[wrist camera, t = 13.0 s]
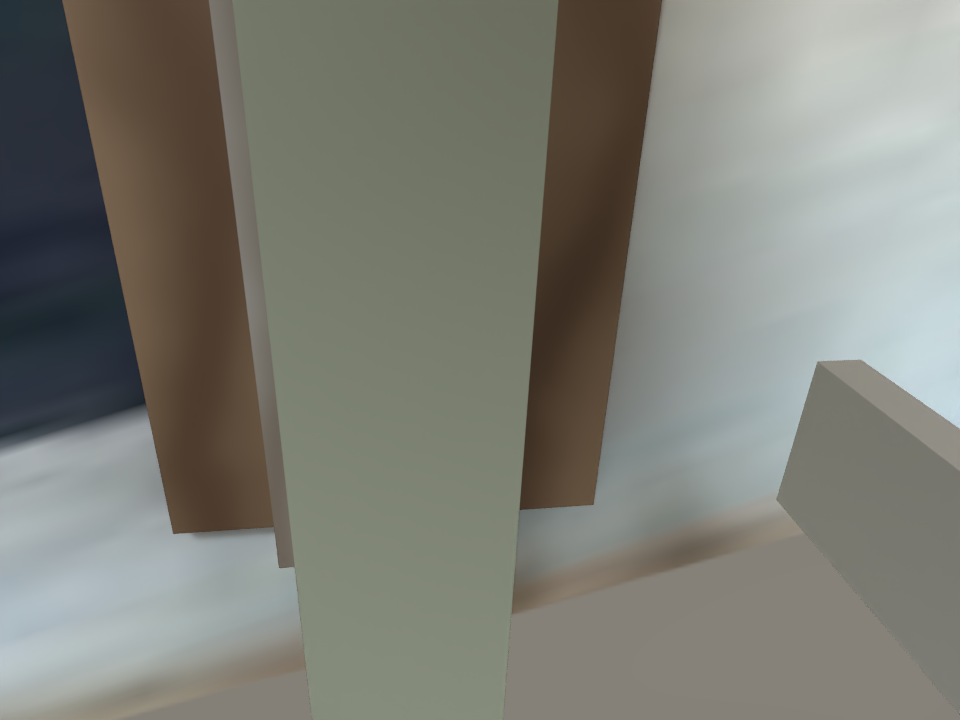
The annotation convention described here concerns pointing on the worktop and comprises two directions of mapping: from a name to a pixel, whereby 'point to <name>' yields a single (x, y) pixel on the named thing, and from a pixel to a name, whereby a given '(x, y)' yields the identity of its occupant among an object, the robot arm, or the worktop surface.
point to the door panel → (400, 328)
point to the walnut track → (237, 262)
